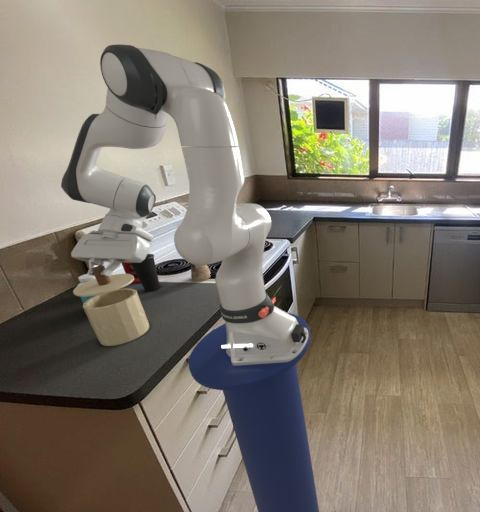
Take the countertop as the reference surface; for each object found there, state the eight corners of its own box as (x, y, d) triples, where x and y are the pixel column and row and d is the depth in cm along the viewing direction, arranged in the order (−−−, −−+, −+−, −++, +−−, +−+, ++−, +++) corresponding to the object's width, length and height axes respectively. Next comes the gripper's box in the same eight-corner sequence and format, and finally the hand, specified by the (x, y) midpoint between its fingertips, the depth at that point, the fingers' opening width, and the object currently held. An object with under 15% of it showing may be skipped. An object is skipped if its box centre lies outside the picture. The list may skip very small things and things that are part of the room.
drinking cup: (139, 288, 114) (121, 241, 107) (162, 282, 119) (146, 236, 112) (142, 295, 109) (123, 246, 102) (166, 288, 114) (150, 241, 107)
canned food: (139, 275, 125) (130, 252, 121) (156, 275, 125) (148, 252, 121) (123, 283, 118) (114, 259, 114) (142, 284, 118) (133, 259, 114)
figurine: (196, 274, 126) (189, 249, 121) (213, 273, 127) (207, 248, 122) (189, 282, 119) (181, 255, 115) (207, 280, 120) (200, 254, 116)
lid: (146, 277, 87) (139, 259, 85) (103, 299, 75) (94, 278, 73) (108, 276, 88) (100, 258, 86) (61, 297, 76) (50, 276, 74)
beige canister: (158, 323, 93) (146, 289, 88) (125, 347, 82) (109, 309, 77) (126, 321, 94) (112, 287, 89) (89, 344, 83) (70, 307, 78)
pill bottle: (118, 310, 100) (103, 275, 95) (88, 319, 95) (71, 282, 90) (116, 302, 105) (102, 268, 100) (88, 310, 100) (72, 275, 95)
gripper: (77, 225, 83) (53, 270, 78) (141, 226, 81) (120, 272, 76) (98, 235, 89) (77, 277, 84) (159, 236, 87) (141, 280, 81)
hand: (98, 275), depth 80 cm, fingers closed on lid, 2 cm apart
